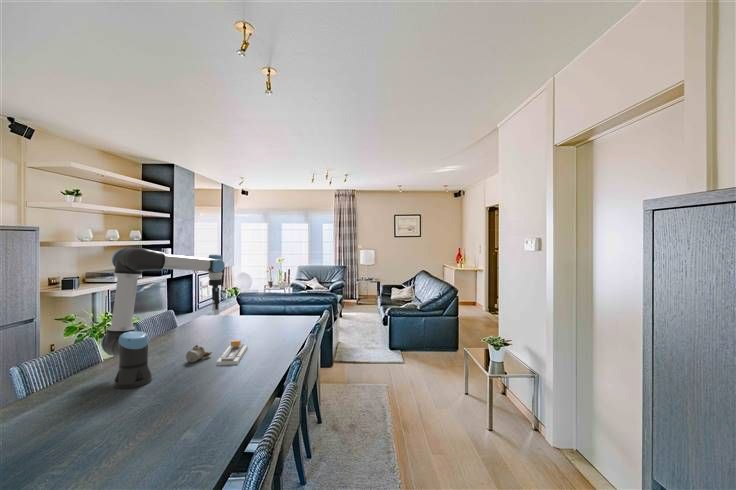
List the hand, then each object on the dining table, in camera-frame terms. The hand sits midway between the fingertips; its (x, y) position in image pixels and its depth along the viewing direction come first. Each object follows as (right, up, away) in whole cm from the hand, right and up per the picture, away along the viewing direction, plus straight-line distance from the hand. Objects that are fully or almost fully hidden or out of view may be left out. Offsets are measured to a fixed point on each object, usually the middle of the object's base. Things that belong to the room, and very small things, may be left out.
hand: (215, 312), depth 221 cm
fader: (+15, -21, -6) cm, 27 cm away
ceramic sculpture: (-2, -24, -19) cm, 31 cm away
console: (+16, -23, -13) cm, 31 cm away
